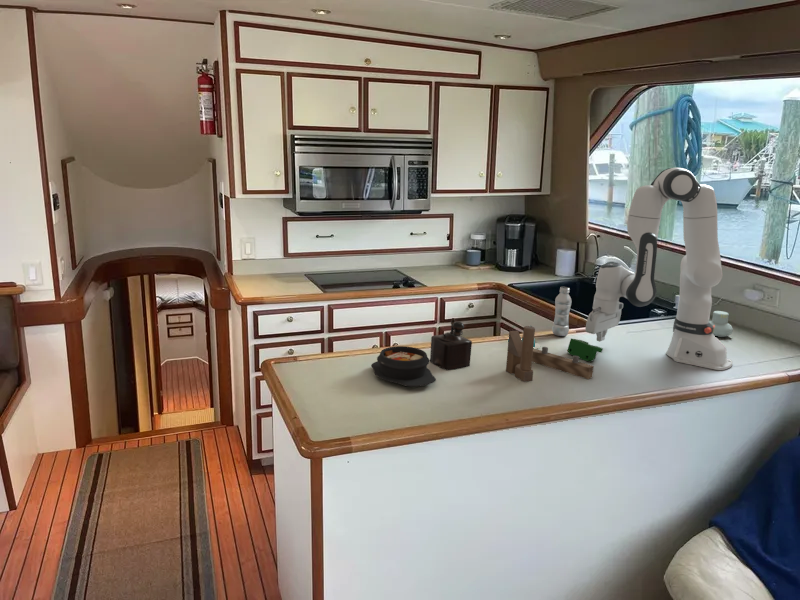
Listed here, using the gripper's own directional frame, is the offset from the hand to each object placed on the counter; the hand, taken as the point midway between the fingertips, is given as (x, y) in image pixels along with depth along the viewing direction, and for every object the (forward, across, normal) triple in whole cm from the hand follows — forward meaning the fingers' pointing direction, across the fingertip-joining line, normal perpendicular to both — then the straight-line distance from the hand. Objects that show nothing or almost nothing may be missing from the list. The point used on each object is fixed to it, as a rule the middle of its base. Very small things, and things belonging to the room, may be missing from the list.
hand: (600, 340), depth 240 cm
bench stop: (+4, -31, -1) cm, 31 cm away
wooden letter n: (+4, -48, +4) cm, 48 cm away
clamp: (+4, -12, -1) cm, 13 cm away
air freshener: (+3, +59, -23) cm, 64 cm away
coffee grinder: (+5, -58, +24) cm, 63 cm away
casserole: (+5, -79, +27) cm, 84 cm away
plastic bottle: (+4, +4, +19) cm, 20 cm away
